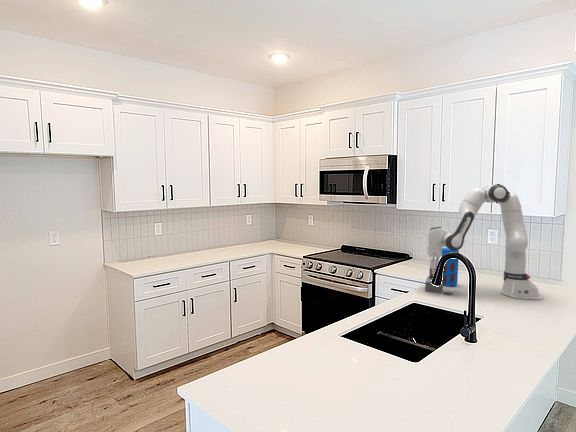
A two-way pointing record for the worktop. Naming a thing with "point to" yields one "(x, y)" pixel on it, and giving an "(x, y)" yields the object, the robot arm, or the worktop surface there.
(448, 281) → the blue red-spotted block
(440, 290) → the camera body
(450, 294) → the lens cap
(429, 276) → the lens
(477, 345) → the worktop surface
